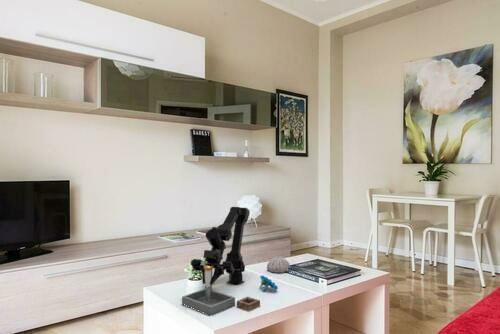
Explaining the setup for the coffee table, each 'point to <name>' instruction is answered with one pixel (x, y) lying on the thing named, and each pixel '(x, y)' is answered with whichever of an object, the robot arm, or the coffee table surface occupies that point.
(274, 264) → the sea urchin shell
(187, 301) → the tray
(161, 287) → the coffee table surface
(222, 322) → the coffee table surface
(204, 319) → the coffee table surface
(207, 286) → the grey tall cylinder
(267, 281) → the blue irregular piece
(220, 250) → the robot arm
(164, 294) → the coffee table surface
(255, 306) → the socket block
